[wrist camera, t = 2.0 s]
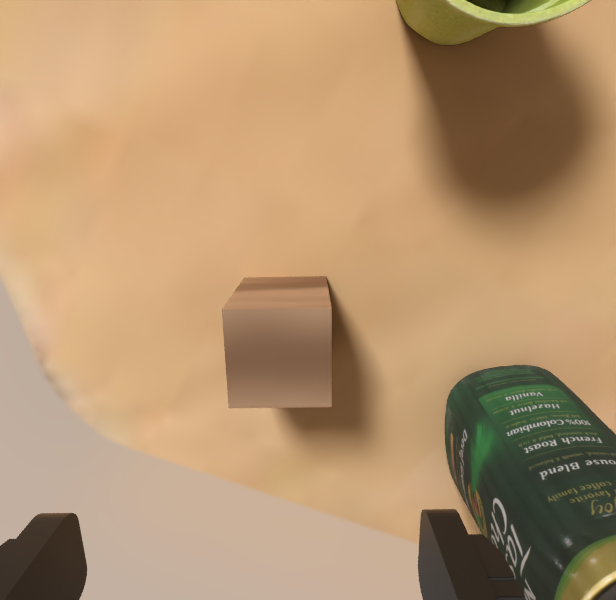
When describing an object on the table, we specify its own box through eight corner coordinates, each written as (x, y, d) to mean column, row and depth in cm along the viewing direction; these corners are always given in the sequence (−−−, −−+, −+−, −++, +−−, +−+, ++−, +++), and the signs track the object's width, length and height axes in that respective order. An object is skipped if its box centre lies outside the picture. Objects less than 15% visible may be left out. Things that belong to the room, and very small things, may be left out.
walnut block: (244, 277, 26) (222, 309, 20) (326, 276, 26) (331, 308, 20) (248, 353, 28) (228, 408, 21) (326, 352, 28) (331, 407, 21)
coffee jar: (434, 368, 28) (658, 699, 10) (558, 352, 28) (1019, 665, 10) (443, 494, 30) (635, 941, 12) (557, 481, 30) (922, 920, 12)
